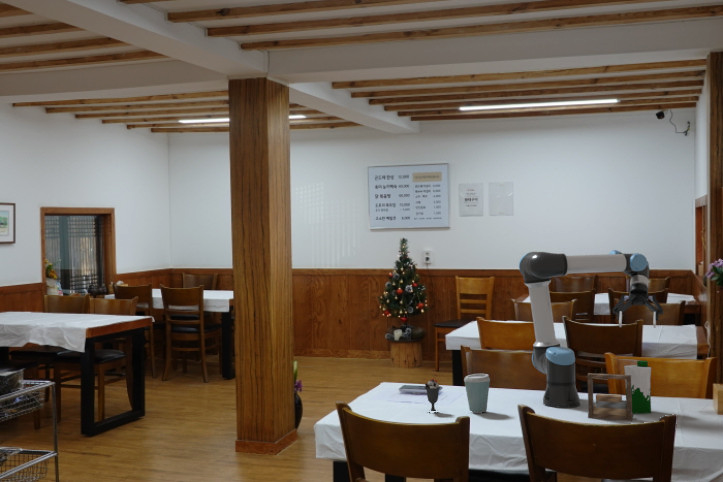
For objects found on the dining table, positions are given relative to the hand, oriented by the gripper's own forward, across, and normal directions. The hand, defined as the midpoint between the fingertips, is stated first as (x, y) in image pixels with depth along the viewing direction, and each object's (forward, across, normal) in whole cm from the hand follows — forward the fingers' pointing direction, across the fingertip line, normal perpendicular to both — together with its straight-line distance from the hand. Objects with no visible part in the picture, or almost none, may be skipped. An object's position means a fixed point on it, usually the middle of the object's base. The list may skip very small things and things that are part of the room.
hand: (637, 325), depth 321 cm
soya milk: (+35, -1, -12) cm, 37 cm away
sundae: (+54, +76, +8) cm, 94 cm away
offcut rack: (+46, +8, -1) cm, 46 cm away
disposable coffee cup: (+50, +59, +3) cm, 77 cm away
